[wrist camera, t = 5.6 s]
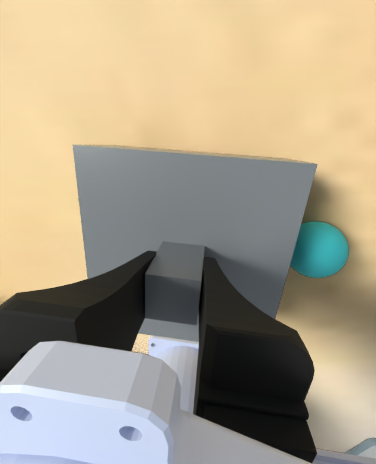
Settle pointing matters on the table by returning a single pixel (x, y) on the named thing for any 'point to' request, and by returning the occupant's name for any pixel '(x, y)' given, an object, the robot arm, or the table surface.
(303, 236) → the ball
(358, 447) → the smartphone
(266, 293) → the gray square knob slab
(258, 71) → the table surface
